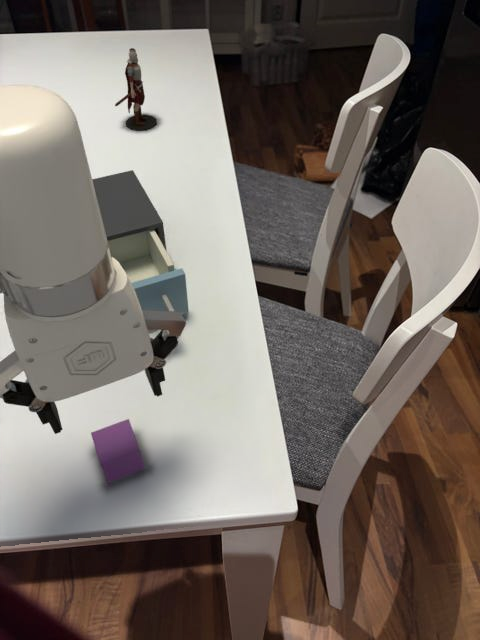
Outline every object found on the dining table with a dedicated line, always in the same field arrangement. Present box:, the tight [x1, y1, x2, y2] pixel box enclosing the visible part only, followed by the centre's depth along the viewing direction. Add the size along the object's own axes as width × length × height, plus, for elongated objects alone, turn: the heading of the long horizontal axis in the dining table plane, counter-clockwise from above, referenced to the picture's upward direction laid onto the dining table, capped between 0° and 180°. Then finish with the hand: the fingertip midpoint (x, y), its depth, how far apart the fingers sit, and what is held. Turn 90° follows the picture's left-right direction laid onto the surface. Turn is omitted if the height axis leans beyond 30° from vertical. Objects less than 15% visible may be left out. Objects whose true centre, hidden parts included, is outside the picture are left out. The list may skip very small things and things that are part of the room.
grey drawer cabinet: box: [92, 169, 168, 253], centre depth 80 cm, size 15×13×9 cm
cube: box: [90, 419, 146, 484], centre depth 57 cm, size 4×4×4 cm
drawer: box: [108, 229, 190, 334], centre depth 71 cm, size 19×11×7 cm, turn 24°
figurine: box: [114, 47, 158, 132], centre depth 106 cm, size 7×7×15 cm
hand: (106, 402), depth 51 cm, fingers open, 9 cm apart
